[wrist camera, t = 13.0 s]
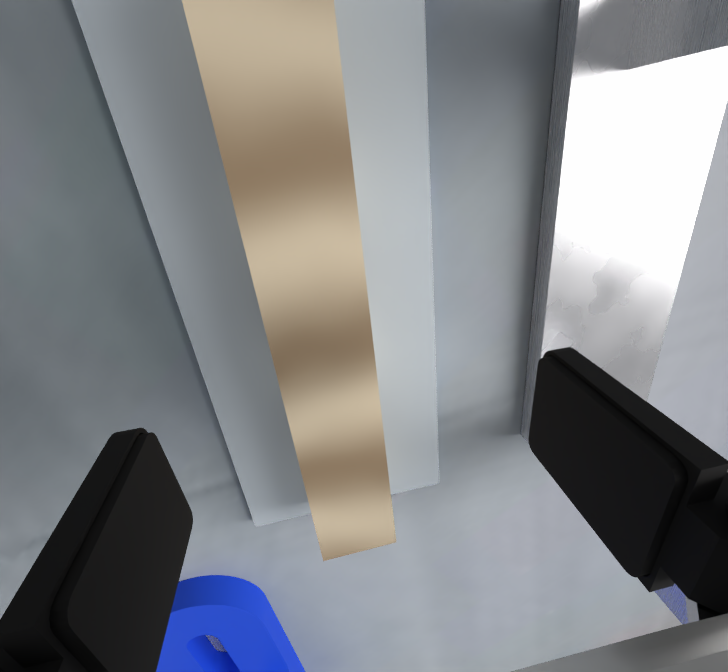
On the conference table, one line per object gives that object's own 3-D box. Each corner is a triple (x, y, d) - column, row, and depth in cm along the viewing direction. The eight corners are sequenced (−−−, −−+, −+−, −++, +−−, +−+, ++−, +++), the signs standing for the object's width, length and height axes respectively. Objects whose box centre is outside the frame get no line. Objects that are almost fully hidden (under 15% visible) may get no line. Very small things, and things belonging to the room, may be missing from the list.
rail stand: (561, -7, 16) (1363, -469, 4) (731, -20, 17) (1767, -422, 5) (520, 434, 26) (714, 661, 14) (627, 410, 27) (889, 604, 15)
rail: (193, -23, 13) (158, -90, 9) (311, -31, 13) (322, -98, 10) (317, 500, 24) (323, 560, 20) (379, 485, 24) (396, 542, 21)
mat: (62, -47, 12) (52, -56, 12) (417, -67, 14) (422, -75, 13) (256, 519, 24) (255, 527, 24) (436, 476, 26) (439, 483, 25)
